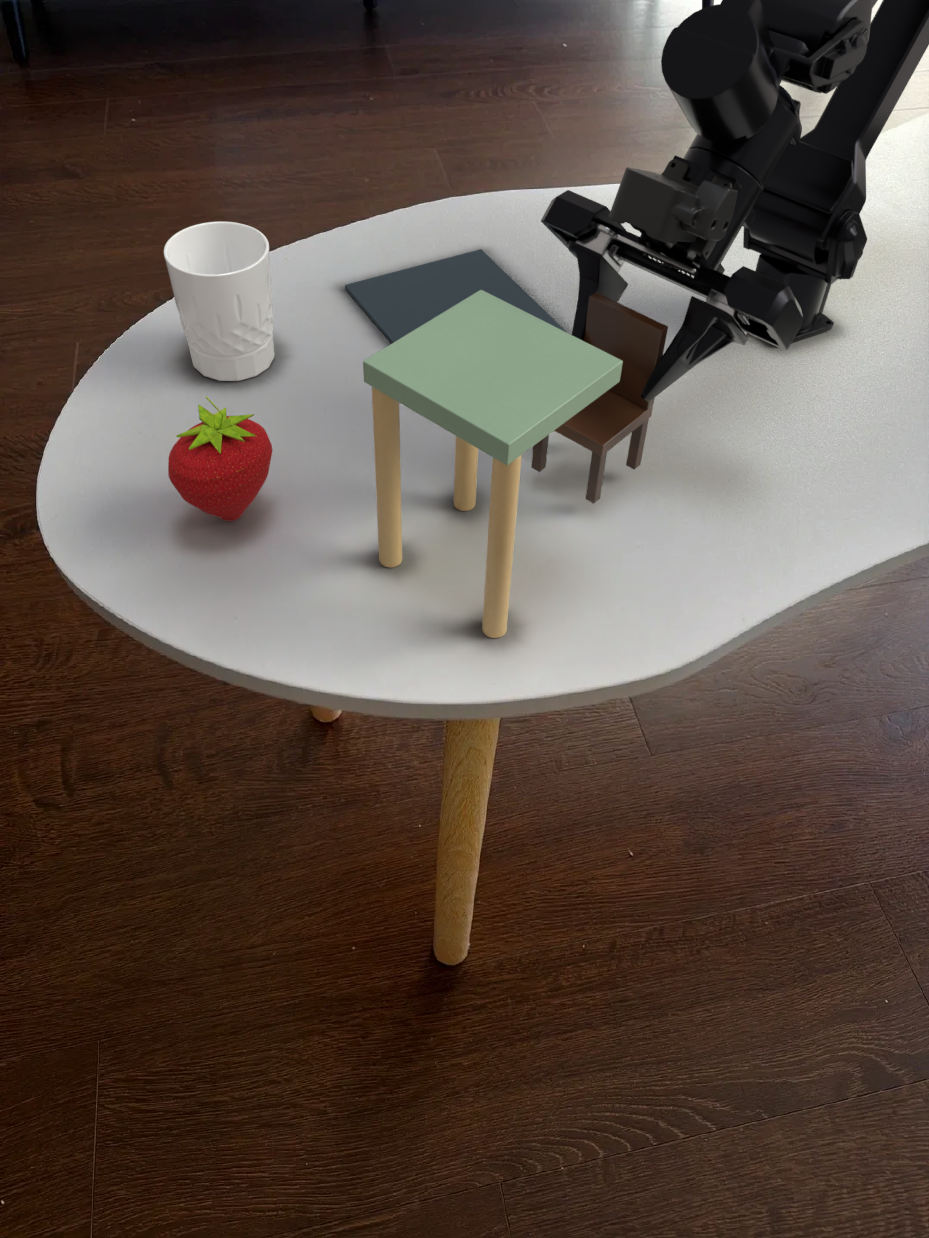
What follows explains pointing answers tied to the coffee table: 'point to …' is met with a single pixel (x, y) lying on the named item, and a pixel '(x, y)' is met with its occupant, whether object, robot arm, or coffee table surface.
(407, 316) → the mat
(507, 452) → the side table
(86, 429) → the coffee table surface
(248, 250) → the white cup
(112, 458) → the coffee table surface
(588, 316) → the chair
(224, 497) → the strawberry
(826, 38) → the robot arm
